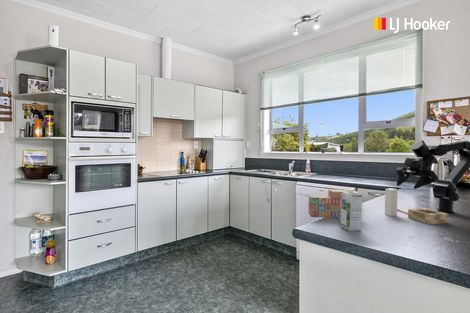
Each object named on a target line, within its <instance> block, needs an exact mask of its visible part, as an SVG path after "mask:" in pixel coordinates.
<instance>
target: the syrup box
mask: <svg viewBox="0 0 470 313" xmlns="http://www.w3.org/2000/svg"><path fill="white" fill-rule="evenodd" d="M357 192H358V191H357ZM357 192H354V191H342V204H341V218H340V228H343V229H344V230H346V231H349V232H350V231H351V232H352V231H356V232H357V231H361V230H362V214H363V213H362V212H363V193H357Z"/></svg>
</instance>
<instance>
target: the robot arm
mask: <svg viewBox="0 0 470 313" xmlns="http://www.w3.org/2000/svg"><path fill="white" fill-rule="evenodd" d="M409 148H410V150H411V151H412V152H413V154H414V155H415V156H416V157H417V158H413V157H412V158H411V157H406V158H405V160H404V162H403V165H404V166H407V167H408V168H407V169H408V170H407V169H406V167H396V169H395V173H396V174H397V177H398V178H397V181H396V186H397V187H400V186H401V185H402V184H404V183H405V182H406V181H408V179H409V178H410V176H414V177H418V180H417V182H416V183H415V184H414V186H413V189H414V190H417V189H419V188H421V187H423V186H427V185H429V184H433V183H435V184H433V187H432V193H433V198H434V199H438V207H437V208H436V211H439V212H443V213H451V214H455V211H454V202H457V201H458V202H459V199H460V195H459V194H458V193H457V185H458V183H459V181H460V180H461V179H462V177H463V176H464V175H465V174H466V172H467V171H468V170H469V169H470V141H468V140H458V141H456V142H449V143H444V144H426V142H425V141H424V139H421V140H420V139H419V140H418V141H417V142H414V143H412V144H410V146H409ZM455 151H457V153H458V155H459V161H458V163H457V164H456V165H455V166H454V168H453V169H452V170H451V171H450V172H449V173H448V175H447V176H446V177H445V179H439V176H438V175H437V174H436V172H435V171H434V170H431V167H432V165H433V164H436V165H437V164H439V161H438V158H437V157H443V156H446V155H447V154H448V153H449V152H455Z"/></svg>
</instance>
